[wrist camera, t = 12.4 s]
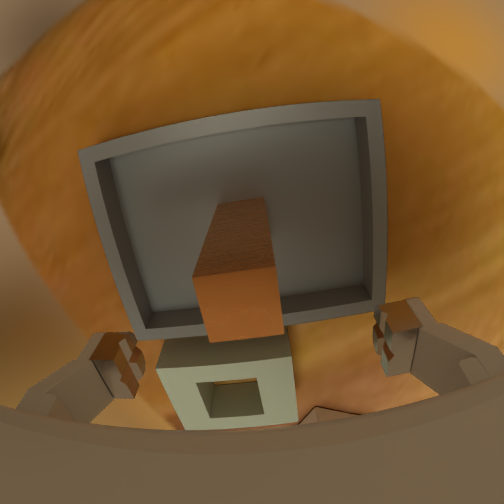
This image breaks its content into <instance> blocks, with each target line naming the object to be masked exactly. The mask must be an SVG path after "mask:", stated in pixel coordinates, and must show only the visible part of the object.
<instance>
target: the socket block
mask: <svg viewBox="0 0 504 504" xmlns="http://www.w3.org/2000/svg"><path fill="white" fill-rule="evenodd" d="M156 371H157V373H158V375H159V378H160V380H161V382H162V384H163V386H164V388H165V390H166V392H167V394H168V396H169V399H170V401H171V403H172V405H173V407H174V409H175V411H176V413H177V415H178V416H179V418H180V420H181V422H182V424H183V426H184V428H185V430H207V429H229V428H243V427H255V426H266V425H275V424H283V423H291V422H298V413H297V403H296V393H295V383H294V374H293V364H292V355H291V349H290V343H289V336H288V330H287V326H284V334H281V335H273V336H266V337H258V338H249V339H241V340H232V341H222V342H212V343H210V342H209V338H208V335H205V336H194V337H182V338H170V339H165V341H164V344H163V347H162V350H161V353H160V356H159V359H158V362H157V365H156ZM248 378H257V382H249V383H238V384H227V385H213V382H215V381H227V380H238V379H248Z"/></svg>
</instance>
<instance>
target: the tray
mask: <svg viewBox="0 0 504 504" xmlns="http://www.w3.org/2000/svg"><path fill="white" fill-rule="evenodd" d="M78 155H79V159H80V164H81V168H82V172H83V177H84V181H85V185H86V189H87V193H88V196H89V200H90V204H91V208H92V211H93V215H94V218H95V222H96V225H97V229H98V232H99V235H100V239H101V242H102V245H103V248H104V251H105V254H106V257H107V260H108V263H109V266H110V269H111V272H112V275H113V278H114V281H115V283H116V286H117V289H118V292H119V294H120V297H121V300H122V302H123V305H124V308H125V310H126V313H127V315H128V318H129V320H130V323H131V325H132V328H133V330H134V333H135V335H136V337H137V340H138V341H141V340H157V339H170V338H182V337H194V336H205V335H207V331H206V328H205V324H204V321H203V317H202V314H201V310H200V306H199V303H198V299H197V295H196V292H195V288H194V284H193V280H192V276H193V273H194V270H195V267H196V264H197V261H198V258H199V255H200V252H201V249H202V246H203V244H204V241H205V238H206V235H207V232H208V229H209V227H210V224H211V221H212V218H213V215H214V213H215V210H216V207H217V204H220V203H227V202H233V201H240V200H246V199H253V198H260V197H264V199H265V205H266V210H267V216H268V222H269V228H270V234H271V240H272V246H273V252H274V258H275V264H276V272H277V279H278V287H279V294H280V302H281V310H282V318H283V326H288V325H295V324H302V323H308V322H314V321H321V320H327V319H333V318H339V317H344V316H350V315H356V314H361V313H366V312H372V311H374V309H375V306H376V305H381V304H385V294H386V275H387V237H388V217H387V180H386V161H385V147H384V135H383V124H382V114H381V105H380V99H368V100H344V101H328V102H315V103H304V104H294V105H284V106H276V107H268V108H260V109H253V110H247V111H240V112H234V113H228V114H222V115H216V116H211V117H206V118H200V119H195V120H191V121H186V122H181V123H177V124H172V125H168V126H163V127H159V128H155V129H151V130H147V131H143V132H139V133H135V134H132V135H128V136H124V137H121V138H117V139H114V140H110V141H107V142H104V143H100V144H97V145H94V146H91V147H88V148H85V149H81V150H78Z"/></svg>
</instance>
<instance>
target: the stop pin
mask: <svg viewBox="0 0 504 504" xmlns="http://www.w3.org/2000/svg"><path fill="white" fill-rule="evenodd" d="M192 280H193V284H194V288H195V292H196V295H197V299H198V303H199V306H200V310H201V314H202V317H203V321H204V324H205V328H206V331H207V335H208V338H209V342H210V343H212V342H222V341H232V340H241V339H249V338H258V337H266V336H273V335H281V334H284V326H283V318H282V310H281V302H280V294H279V287H278V279H277V272H276V264H275V258H274V252H273V246H272V240H271V234H270V228H269V222H268V216H267V210H266V205H265V199H264V197H260V198H253V199H246V200H240V201H233V202H227V203H220V204H217V207H216V210H215V213H214V215H213V218H212V221H211V224H210V227H209V229H208V232H207V235H206V238H205V241H204V244H203V246H202V249H201V252H200V255H199V258H198V261H197V264H196V267H195V270H194V273H193V276H192Z"/></svg>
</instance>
